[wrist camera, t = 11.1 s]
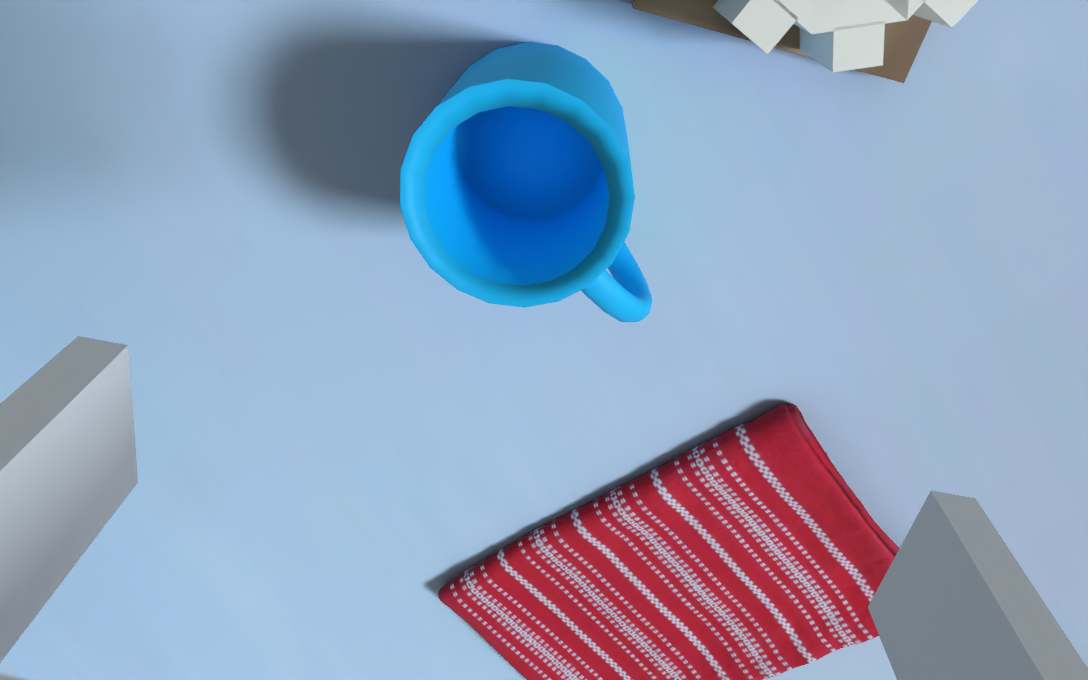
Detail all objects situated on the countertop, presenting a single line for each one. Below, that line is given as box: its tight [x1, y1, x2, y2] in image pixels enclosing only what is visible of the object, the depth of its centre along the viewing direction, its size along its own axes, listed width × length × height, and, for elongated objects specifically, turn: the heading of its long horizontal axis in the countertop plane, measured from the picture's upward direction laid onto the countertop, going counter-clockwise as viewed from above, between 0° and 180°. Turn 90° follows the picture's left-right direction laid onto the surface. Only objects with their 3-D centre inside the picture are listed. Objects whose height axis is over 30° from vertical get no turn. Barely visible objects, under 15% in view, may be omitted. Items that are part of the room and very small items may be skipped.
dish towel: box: [438, 404, 900, 680], centre depth 46 cm, size 17×24×3 cm
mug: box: [400, 42, 652, 322], centre depth 32 cm, size 12×8×8 cm
